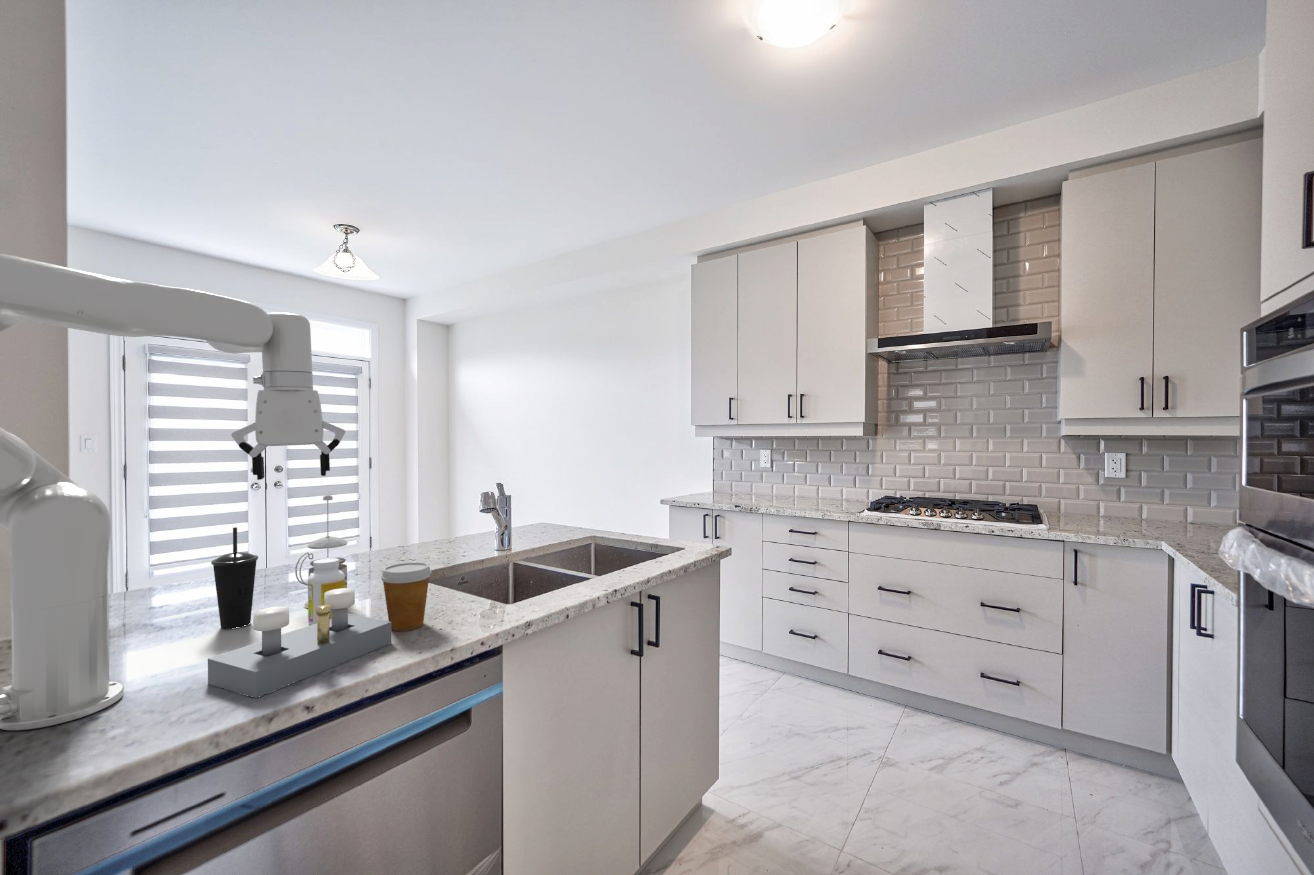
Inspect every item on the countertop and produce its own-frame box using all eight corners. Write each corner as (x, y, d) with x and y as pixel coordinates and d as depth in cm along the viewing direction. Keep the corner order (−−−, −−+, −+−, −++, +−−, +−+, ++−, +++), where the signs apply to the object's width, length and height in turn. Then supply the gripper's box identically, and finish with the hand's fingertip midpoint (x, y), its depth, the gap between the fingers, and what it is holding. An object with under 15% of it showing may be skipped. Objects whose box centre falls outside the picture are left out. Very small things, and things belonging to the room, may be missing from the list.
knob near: (265, 660, 88) (265, 617, 88) (246, 655, 90) (246, 613, 90) (296, 649, 92) (295, 608, 92) (277, 645, 94) (277, 605, 94)
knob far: (336, 635, 99) (336, 596, 99) (318, 631, 101) (318, 593, 101) (360, 626, 103) (360, 589, 103) (342, 623, 105) (342, 586, 105)
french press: (361, 600, 131) (361, 494, 131) (309, 614, 121) (309, 499, 121) (337, 594, 136) (336, 491, 136) (285, 607, 126) (285, 496, 126)
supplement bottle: (352, 617, 120) (352, 557, 120) (331, 628, 113) (331, 564, 113) (322, 616, 120) (322, 556, 120) (300, 626, 114) (300, 563, 114)
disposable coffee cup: (426, 615, 121) (425, 559, 121) (436, 628, 113) (436, 568, 113) (377, 623, 116) (376, 565, 116) (384, 637, 108) (384, 575, 108)
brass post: (321, 645, 93) (321, 609, 93) (312, 643, 94) (312, 607, 94) (333, 640, 95) (333, 605, 95) (325, 638, 96) (325, 604, 96)
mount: (255, 698, 83) (255, 671, 83) (207, 683, 88) (207, 658, 88) (391, 643, 105) (391, 621, 105) (347, 633, 110) (347, 613, 110)
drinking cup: (201, 630, 112) (201, 529, 111) (238, 617, 119) (238, 523, 119) (232, 633, 110) (231, 531, 110) (267, 620, 117) (267, 525, 117)
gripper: (225, 381, 94) (230, 482, 95) (342, 382, 103) (346, 475, 103) (233, 383, 101) (238, 478, 102) (343, 384, 109) (347, 472, 110)
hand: (292, 477), depth 102 cm, fingers open, 9 cm apart
